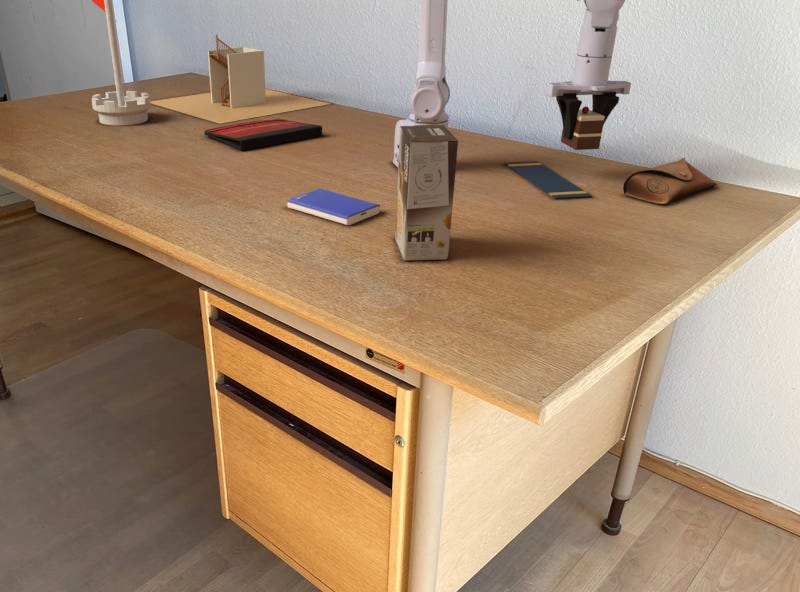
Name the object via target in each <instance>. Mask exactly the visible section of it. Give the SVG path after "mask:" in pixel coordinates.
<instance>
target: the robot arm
mask: <svg viewBox="0 0 800 592" xmlns="http://www.w3.org/2000/svg"><path fill="white" fill-rule="evenodd" d="M576 1H577V2H578V1H580V0H576ZM625 1H626V0H583V2H584V6H585V10H584V15H583V16H584V17H583V22H582V24H581V25H580V32H579V40H578V44H577V52H576V58H575V63H574V69H573V77H572V80H567V81H560V82H548V83H547V87H546V96H548V97H551V98H555V100H556V102H557V105H558V108H559V111H560V115H561V122H562V130H563V136H564V137H565V138H567V139H572V137H573V134H574V129H575V123H576V118H577V115H578V111H579V110H581V106H582V104H583V101H582V100H581V99H579V97H578V96H591V97H592V107H591V111H593V112H596V113H598V114H600V115H603V116H605V118H604V124H603V126H604V125H605V123H606V121H607V120H608V118H609V116H610V115H611V113H612V112H613V110H614V109H615V108H616V106H617V105H618V104H619V102H620V97H619V96H618V95H629V94H630V90H631V85H632V82H630V81H627V80H609V75H610V70H611V65H612V59H613V53H614V49H615V44H616V37H617V32H618V21H619V17H620V11H621V9H622V7H623V6H624V4H625ZM448 2H449V1H448V0H419V22H418V23H419V24H418V26H419V27H418V28H419V29H418V31H419V32H418V58H417V60H418V61H417V67H416V74H415V86H414V89H413V91H412V93H411V95H410V98H409V108H410V111H411V112H410V113H409V115H408V118H406V119H399V120H397V122H396V123H395V128H394V142H393V159H392V163H393V165H395V166H396V167H397V168H398V162H399V140H400V126H415V125H444V126H445V127H446V128H447V129H448V130H449V118H450V116H449V114H447V112H446V110H445V109H446V106H447V104H448V103H449V101H450V96H451V90H450V87H449V85H448V83H447V82H448V81H447V77H446V74H447V72H446V71H447V68H446V46H447V27H448V26H447V23H448Z"/></svg>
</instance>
